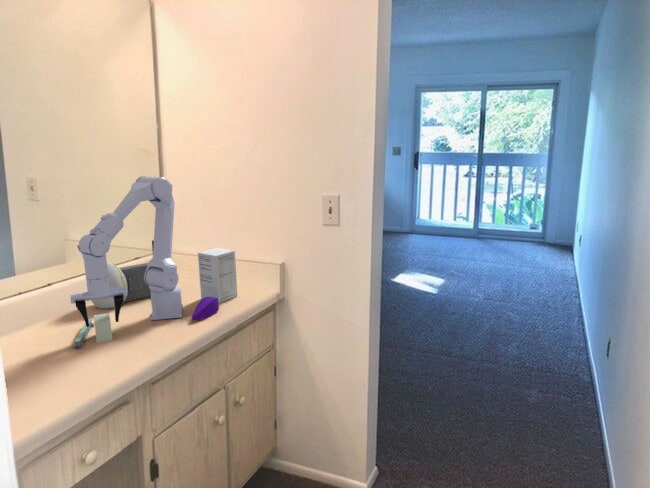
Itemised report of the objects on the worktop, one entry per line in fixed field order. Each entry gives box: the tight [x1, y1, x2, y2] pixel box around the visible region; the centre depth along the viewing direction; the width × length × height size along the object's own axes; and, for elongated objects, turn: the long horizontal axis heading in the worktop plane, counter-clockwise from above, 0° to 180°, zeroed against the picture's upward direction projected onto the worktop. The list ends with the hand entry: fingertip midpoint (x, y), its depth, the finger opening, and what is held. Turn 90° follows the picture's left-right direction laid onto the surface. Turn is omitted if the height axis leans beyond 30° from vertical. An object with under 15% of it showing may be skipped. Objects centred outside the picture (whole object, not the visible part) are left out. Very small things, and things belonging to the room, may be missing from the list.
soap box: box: [93, 312, 113, 344], centre depth 145 cm, size 7×4×6 cm, turn 26°
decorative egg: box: [90, 261, 128, 310], centre depth 172 cm, size 12×12×15 cm
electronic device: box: [118, 239, 154, 303], centre depth 179 cm, size 17×7×20 cm, turn 134°
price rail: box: [72, 318, 95, 350], centre depth 146 cm, size 2×18×2 cm, turn 15°
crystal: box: [191, 297, 220, 321], centre depth 162 cm, size 5×5×15 cm
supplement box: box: [197, 247, 238, 304], centre depth 179 cm, size 10×9×17 cm
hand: (102, 323), depth 145 cm, fingers open, 7 cm apart
